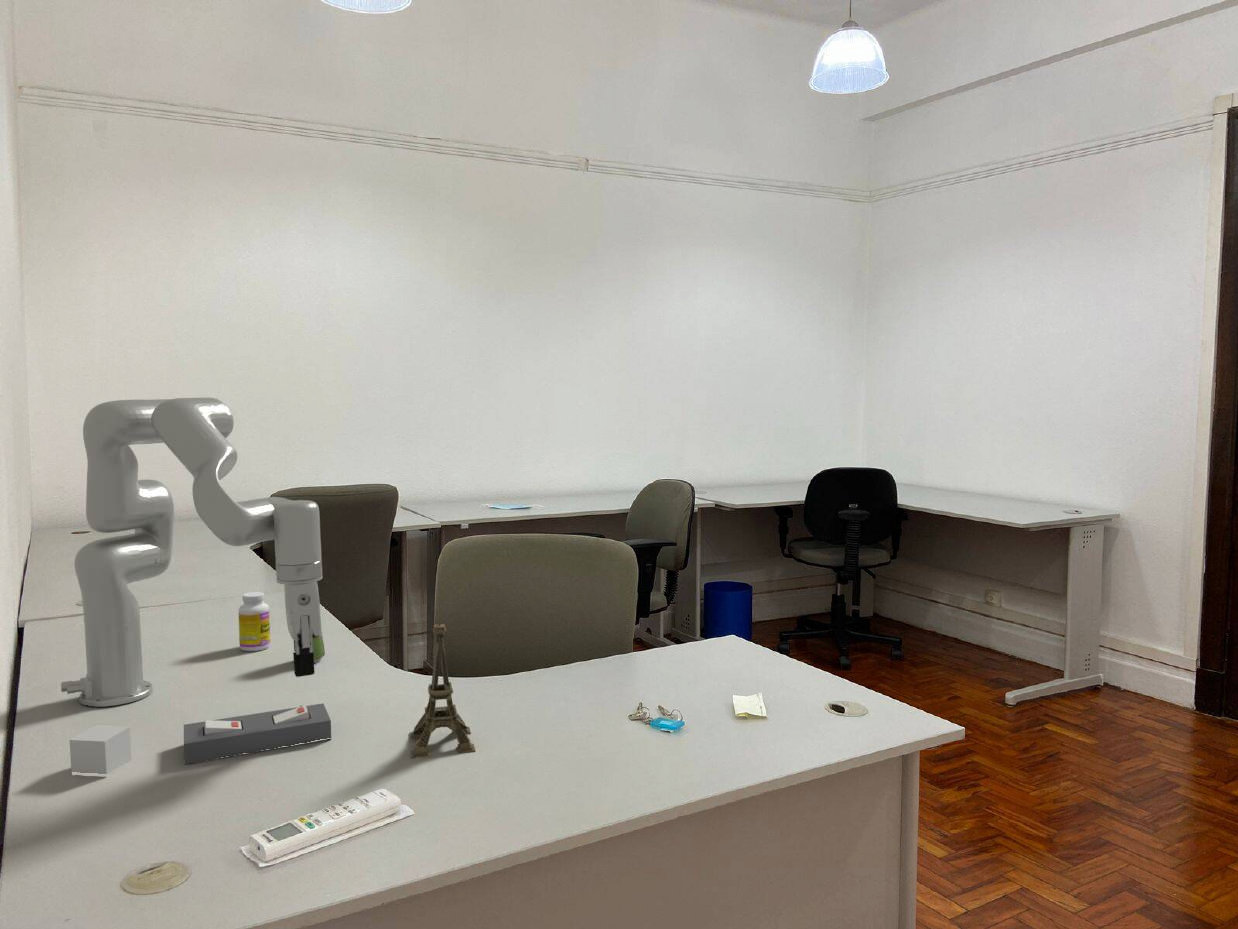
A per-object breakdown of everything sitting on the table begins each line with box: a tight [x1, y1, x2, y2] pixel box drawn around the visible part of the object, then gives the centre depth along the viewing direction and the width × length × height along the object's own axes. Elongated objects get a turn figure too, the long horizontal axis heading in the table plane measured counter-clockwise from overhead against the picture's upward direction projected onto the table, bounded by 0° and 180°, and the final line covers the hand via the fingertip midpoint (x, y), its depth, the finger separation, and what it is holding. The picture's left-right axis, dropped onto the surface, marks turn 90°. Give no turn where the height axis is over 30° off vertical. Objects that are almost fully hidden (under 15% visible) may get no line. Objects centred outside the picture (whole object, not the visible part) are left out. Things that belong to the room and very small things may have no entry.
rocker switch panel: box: [183, 703, 332, 765], centre depth 156 cm, size 23×16×4 cm
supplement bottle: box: [237, 591, 271, 652], centre depth 205 cm, size 7×7×13 cm
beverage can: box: [312, 626, 326, 663], centre depth 196 cm, size 6×7×12 cm
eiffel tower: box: [408, 609, 476, 759], centre depth 152 cm, size 11×11×25 cm
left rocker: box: [204, 719, 242, 735], centre depth 150 cm, size 6×4×1 cm, turn 117°
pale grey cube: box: [69, 724, 132, 774], centre depth 142 cm, size 6×6×6 cm
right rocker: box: [273, 704, 310, 724], centre depth 155 cm, size 6×4×1 cm, turn 116°
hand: (304, 674), depth 155 cm, fingers closed
